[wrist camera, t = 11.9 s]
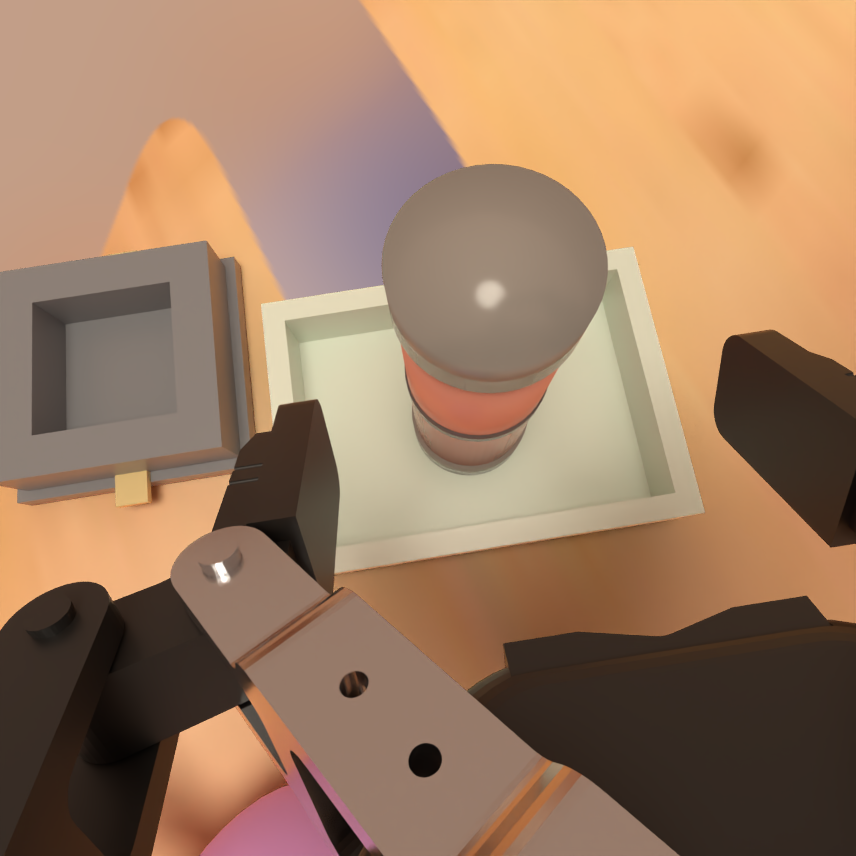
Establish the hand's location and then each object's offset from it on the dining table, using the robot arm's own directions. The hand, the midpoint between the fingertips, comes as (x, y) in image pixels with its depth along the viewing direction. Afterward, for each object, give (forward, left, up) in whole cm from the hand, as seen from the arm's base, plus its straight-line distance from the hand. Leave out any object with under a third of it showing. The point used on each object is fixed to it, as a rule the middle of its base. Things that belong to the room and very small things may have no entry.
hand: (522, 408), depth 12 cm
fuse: (0, -2, -11) cm, 11 cm away
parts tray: (0, -3, -11) cm, 12 cm away
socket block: (+13, -7, -11) cm, 19 cm away
